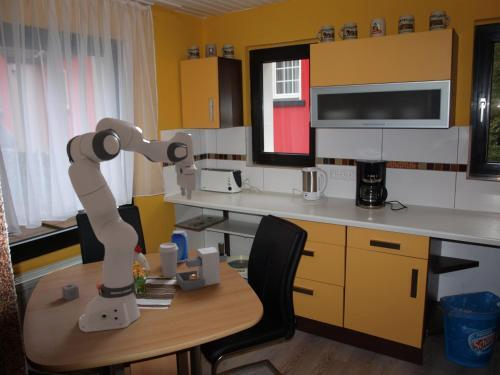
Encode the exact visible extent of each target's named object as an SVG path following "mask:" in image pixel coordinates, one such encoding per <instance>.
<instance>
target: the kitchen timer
mask: <svg viewBox="0 0 500 375" xmlns="http://www.w3.org/2000/svg"><path fill="white" fill-rule="evenodd" d="M142 250H143V247H141V248H140V244H139V245H138V244H137V246H136V247H135V248H134V255H133V264H134V263H135V261H138V262H139V263H141V265H142V267H143V268H146V269H147V270H148V271H149V272H150V273H151V271H150V270H151V269H150V265H149V262H148V259H146V256H145V255H144V254H143V253H142Z"/></svg>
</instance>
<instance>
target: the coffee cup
mask: <svg viewBox="0 0 500 375" xmlns="http://www.w3.org/2000/svg"><path fill="white" fill-rule="evenodd" d="M177 250H178V247H177V245H176V244H175V243H172V242H164V243H161V244H160V245H159V247H158V250H157V251H158V252H159V257H160V264H161V271H162V277H164V278H173V277H176V273H177V268H178V267H177V266H178V264H177V263H178V262H177Z"/></svg>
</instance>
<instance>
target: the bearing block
mask: <svg viewBox="0 0 500 375" xmlns="http://www.w3.org/2000/svg"><path fill="white" fill-rule="evenodd" d="M196 252H197V253H196V254H197V257H200V258H201V259H202V266H197V277H198V279H199V280H200V279H205V286H210V285H216V284H220V283H221V270H220V269H221V268H220V261H219V251H218V248H216V247H214V246H210V247H209V246H208V247H204V248H197V251H196Z"/></svg>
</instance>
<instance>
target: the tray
mask: <svg viewBox="0 0 500 375" xmlns="http://www.w3.org/2000/svg"><path fill="white" fill-rule="evenodd" d="M192 274H195V275H196V276H197V280H195V281H189V276H190V275H192ZM175 279H176V280H175V281H176V283H177V284H178V287H180V290H182V291H183V292H185V293H186V292H189V291H194V290H195V291H196V290H201V289H205V288H206V285H205V279H200V280H199V279H198V269H193V270H189V271H188V270H187V271H181V272H176V276H175Z"/></svg>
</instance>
